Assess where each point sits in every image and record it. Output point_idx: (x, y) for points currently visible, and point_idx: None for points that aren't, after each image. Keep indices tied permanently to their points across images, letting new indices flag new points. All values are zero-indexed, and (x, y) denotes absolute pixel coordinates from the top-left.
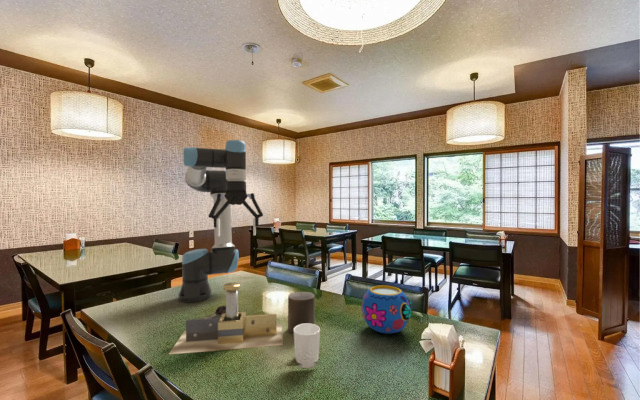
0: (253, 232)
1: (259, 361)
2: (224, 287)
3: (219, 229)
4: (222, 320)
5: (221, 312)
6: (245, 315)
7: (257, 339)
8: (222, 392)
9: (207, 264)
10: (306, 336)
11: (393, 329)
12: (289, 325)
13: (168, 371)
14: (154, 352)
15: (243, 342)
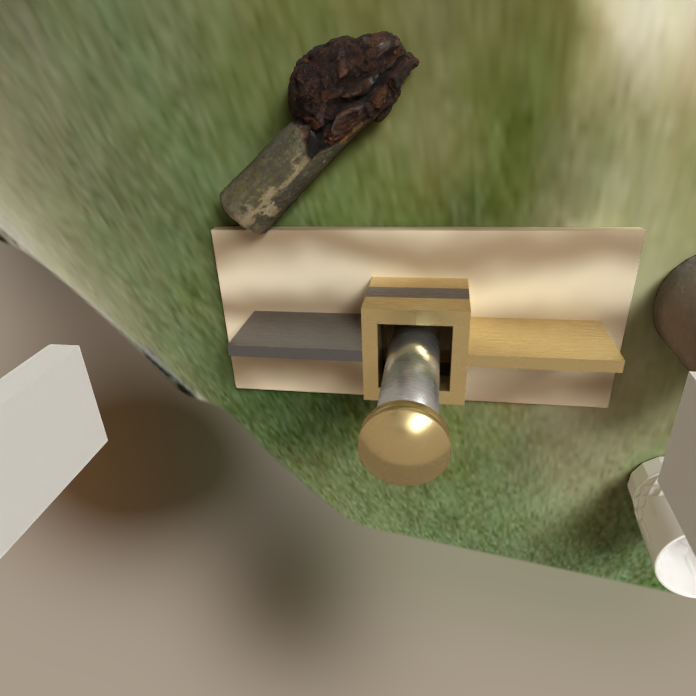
0: (682, 520)
1: (516, 449)
2: (367, 464)
3: (19, 452)
4: (377, 381)
5: (328, 123)
6: (470, 307)
7: None
8: (427, 535)
9: None
10: (687, 593)
11: None
12: (670, 344)
13: (271, 440)
14: (180, 340)
15: None
